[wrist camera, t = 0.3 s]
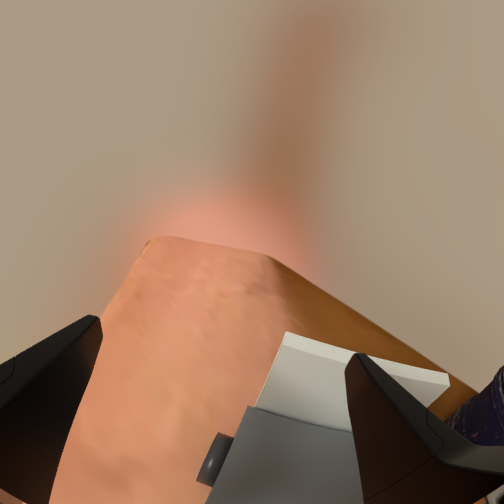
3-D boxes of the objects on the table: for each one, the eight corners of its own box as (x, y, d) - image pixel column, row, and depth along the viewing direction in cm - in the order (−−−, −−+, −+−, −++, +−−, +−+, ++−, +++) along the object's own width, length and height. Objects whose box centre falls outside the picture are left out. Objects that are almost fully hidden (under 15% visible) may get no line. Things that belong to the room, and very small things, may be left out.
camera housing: (346, 536, 11) (387, 530, 8) (187, 503, 13) (185, 496, 10) (360, 462, 18) (396, 439, 15) (223, 428, 20) (231, 399, 17)
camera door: (359, 457, 18) (450, 385, 12) (243, 430, 20) (281, 344, 14) (361, 441, 20) (445, 364, 13) (249, 414, 21) (288, 321, 15)
